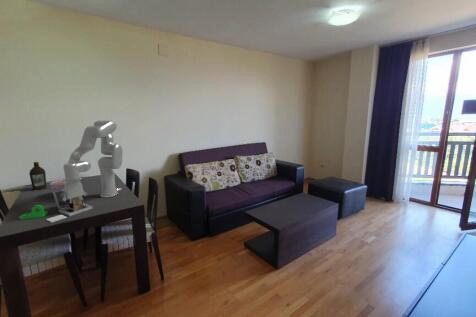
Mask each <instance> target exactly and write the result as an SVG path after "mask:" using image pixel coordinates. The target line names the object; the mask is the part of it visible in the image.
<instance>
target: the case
mask: <svg viewBox="0 0 476 317" xmlns="http://www.w3.org/2000/svg"><path fill="white" fill-rule="evenodd" d="M52 194H53V197H54V201H55V203H56V206H57V209H58V212H59V213H61V214H62V215H66V216H68V217H72V216H74V215H77V214H80V213H83V212H86V211H89V210H93V205H89V204H87V203H85V201H84V199H83V200H82V201H83V204H82V207H83V209H80V210H77V211H73V210H72V211H71V212H70V211H68V210H71V208H70V207H69V203H68V202H66V201H63V200H62V199H63V197H64V189H61V190H57V191H52ZM66 200H68V198H66Z"/></svg>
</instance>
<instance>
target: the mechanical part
mask: <svg viewBox="0 0 476 317" xmlns="http://www.w3.org/2000/svg"><path fill="white" fill-rule="evenodd" d="M37 209H39V211H38V210H37ZM48 214H49V211H48V210H45V208H44V206H43V205H41V204H37V205H36V204H35V205H34V206H33V207H32V208H31V211H30V212H26V213H23V214H22V215H20V216H19V220H28V219H37V218H44V217H45V216H46V215H48Z"/></svg>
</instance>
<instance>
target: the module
mask: <svg viewBox="0 0 476 317" xmlns="http://www.w3.org/2000/svg"><path fill="white" fill-rule="evenodd" d="M72 203H73V209H72V208H71V209H70V210H71V211H72V212H73V211H77V210H80V209H83V208H84V206H82V200H81V197H76V198H73V199H72Z"/></svg>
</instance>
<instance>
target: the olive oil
mask: <svg viewBox="0 0 476 317" xmlns="http://www.w3.org/2000/svg"><path fill="white" fill-rule="evenodd" d="M46 175H47V174H46V171H45V169H44V168H43V167H41V166H40V164H39V161H34V162H33V167H32V168H31V169H30V170H29V178H30V183H31V187H32V191H34V190H37V191H43V190H46V189H47V188H48V187H47V176H46ZM42 189H43V190H42Z"/></svg>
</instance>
